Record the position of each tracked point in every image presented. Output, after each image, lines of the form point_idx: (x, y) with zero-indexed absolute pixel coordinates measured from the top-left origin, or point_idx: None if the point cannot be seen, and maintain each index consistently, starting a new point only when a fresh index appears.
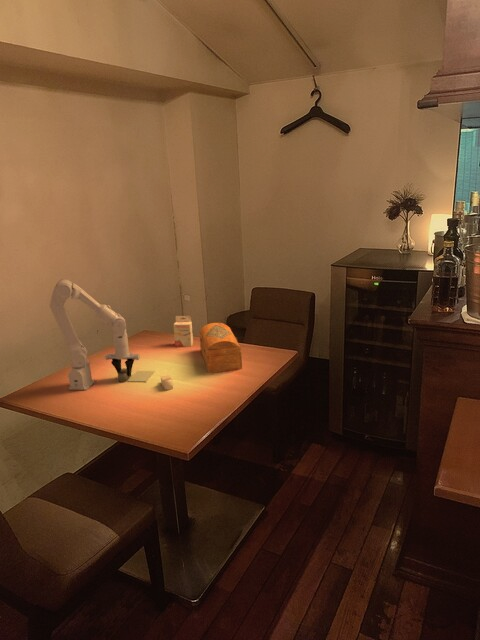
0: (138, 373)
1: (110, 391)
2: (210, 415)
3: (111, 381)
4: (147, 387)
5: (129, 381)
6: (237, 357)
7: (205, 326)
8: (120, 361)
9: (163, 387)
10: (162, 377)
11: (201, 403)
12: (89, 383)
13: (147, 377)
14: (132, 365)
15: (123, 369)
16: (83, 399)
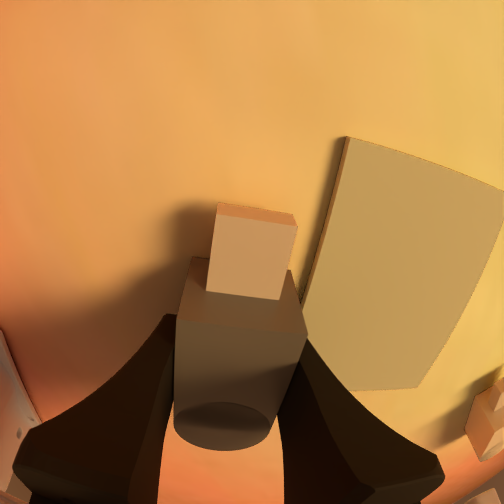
0: (374, 236)
1: (189, 462)
2: (482, 479)
3: (119, 359)
4: (404, 430)
5: None
6: None
7: None
8: (146, 457)
9: (468, 423)
10: (496, 435)
11: (499, 456)
12: (14, 399)
13: (440, 333)
14: (361, 404)
15: (204, 356)
16: None
